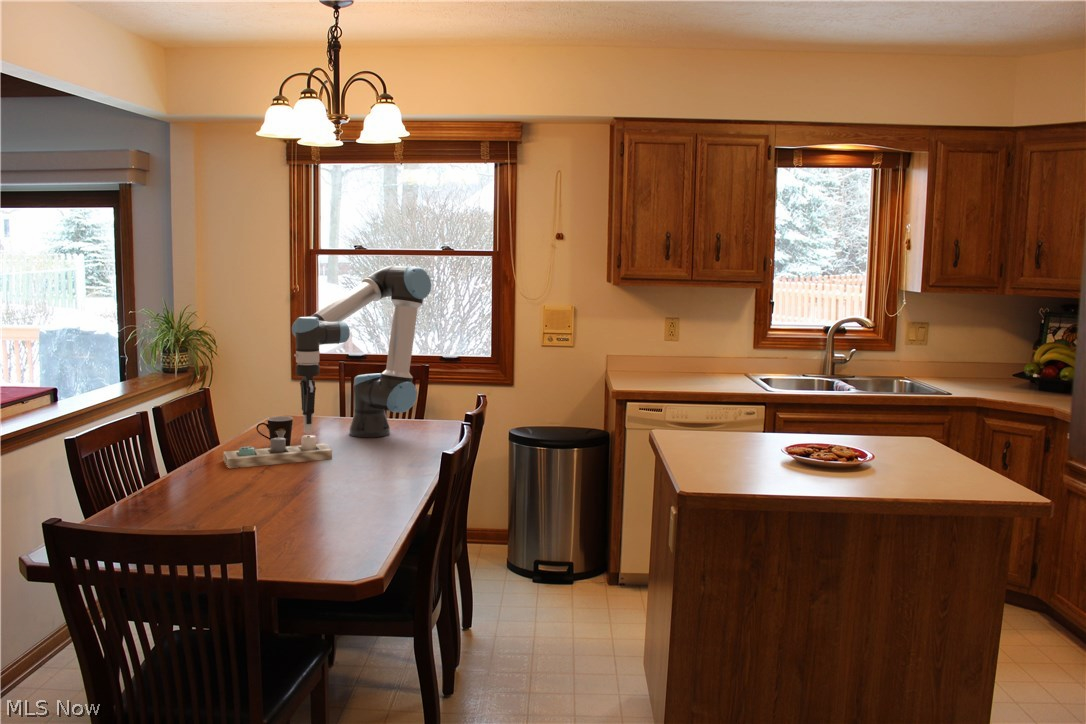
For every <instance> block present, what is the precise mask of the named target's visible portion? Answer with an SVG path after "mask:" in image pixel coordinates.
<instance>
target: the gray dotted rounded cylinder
mask: <svg viewBox="0 0 1086 724" xmlns="http://www.w3.org/2000/svg"><path fill="white" fill-rule="evenodd" d="M269 442H270V444H269V445H270V448H271V454H274V453H285V452H286V439H285V438H272V439H270V440H269Z"/></svg>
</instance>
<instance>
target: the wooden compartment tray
mask: <svg viewBox="0 0 1086 724" xmlns="http://www.w3.org/2000/svg"><path fill="white" fill-rule="evenodd" d="M222 455H223V462H224V461H225V462H224V464H225V463H226V464H225V466H226V465H227V466H226V467H228V468H229V469H237V468H238V469H239V467H240V468H249V467H258V466H259V467H260V466H269V465H270V466H271V465H282V464H292V463H301V462H313V461H324V460H326V461H327V460H332V459H333V450H332V448H330V447H329V446H328V445H327V444H326V443H316V450H308V451H302V450H301V444H299V445H290V446H286V452H285V453H274V454H271V447H264V448H254V455H251V456H239V450H228V451H223V454H222ZM228 468H227V469H228Z"/></svg>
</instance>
